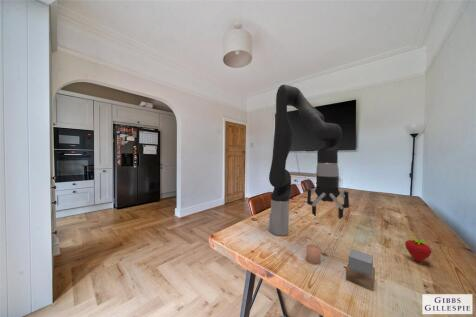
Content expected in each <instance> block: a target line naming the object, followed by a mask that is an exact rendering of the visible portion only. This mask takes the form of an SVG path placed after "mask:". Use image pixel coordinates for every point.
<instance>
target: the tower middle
mask: <svg viewBox="0 0 476 317" xmlns="http://www.w3.org/2000/svg"><path fill="white" fill-rule="evenodd" d="M347 262H348V264H347V265H348V269H351V270H354V271H357V272H359V273H362V274H365V275H368V276H372V268H373V267H374V266H373V265H374V264H373V263H374V255H373V254H369V253H365V252H364V251H360V250H359V251H358V250H356V249H352V248H351V249H350V251H349V255H348V260H347Z"/></svg>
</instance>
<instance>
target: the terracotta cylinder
mask: <svg viewBox="0 0 476 317" xmlns="http://www.w3.org/2000/svg"><path fill="white" fill-rule="evenodd" d="M305 248H306V249H305V250H306V251H305V252H306V254H305V256H306V257H305V260H306V261H307V262H308V263H309V264H312V265H317V266H318V265H320V264H321V253H322V252H321V251H322V250H321V247H319V246H318V245H315V244H307V245H306V247H305Z"/></svg>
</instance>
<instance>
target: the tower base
mask: <svg viewBox="0 0 476 317" xmlns="http://www.w3.org/2000/svg"><path fill="white" fill-rule="evenodd" d="M375 274H376V267H374V266H373V268H372V276H368V275H365V274H362V273H359V272H357V271H354V270H351V269H348V264H347V266H346V268H345V280H346V281H348V282H350V283H352V284H355V285H357V286H360V287H362V288H365V289H367V290H369V291H374V286H375V277H376V276H375Z"/></svg>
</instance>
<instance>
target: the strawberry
mask: <svg viewBox="0 0 476 317" xmlns="http://www.w3.org/2000/svg"><path fill="white" fill-rule="evenodd" d="M404 244H405V248H406V250H407V252H408V253H409V254H410V256H411V257H412V258H413V260H414V261H416V262H417V263H420V262H422V261H425V260H426V259H427V258H430V256H431V254H432V248H430V246H428V243H427V242H426V240H422V239H421V238H419V239H417V238H411V237H409V239H408V240H406V241H405V243H404Z"/></svg>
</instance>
